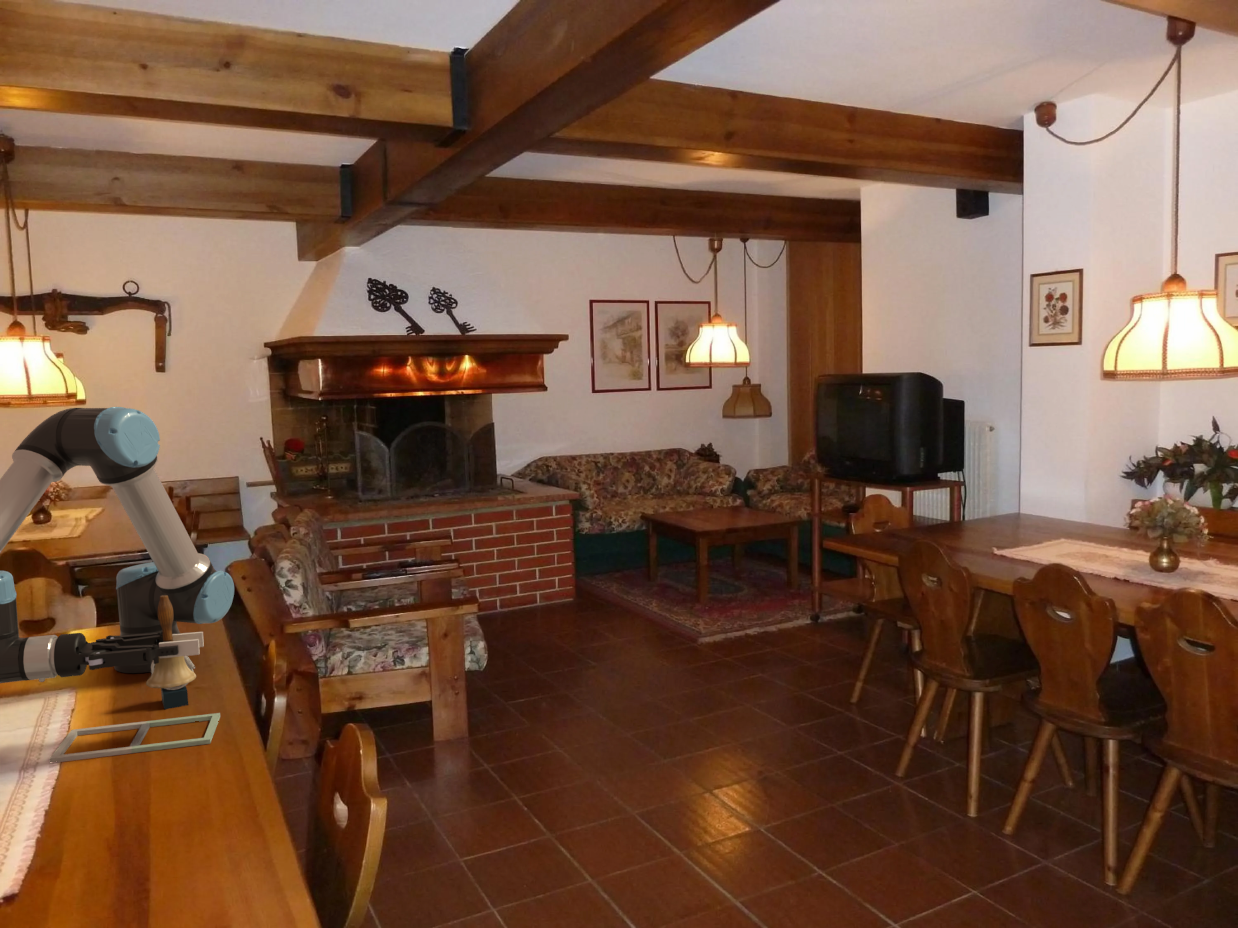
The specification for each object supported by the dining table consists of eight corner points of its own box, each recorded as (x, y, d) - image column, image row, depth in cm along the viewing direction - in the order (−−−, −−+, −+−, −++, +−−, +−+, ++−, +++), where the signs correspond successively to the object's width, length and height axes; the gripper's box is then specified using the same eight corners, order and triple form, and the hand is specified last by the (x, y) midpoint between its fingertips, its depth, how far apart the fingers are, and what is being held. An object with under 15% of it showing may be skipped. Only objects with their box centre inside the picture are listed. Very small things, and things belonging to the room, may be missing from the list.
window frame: (72, 733, 173) (71, 729, 173) (220, 716, 180) (220, 712, 180) (49, 763, 160) (49, 758, 160) (210, 743, 167) (210, 739, 167)
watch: (198, 702, 188) (195, 649, 187) (154, 711, 184) (150, 657, 182) (195, 694, 193) (191, 643, 191) (152, 702, 188) (148, 649, 187)
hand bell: (176, 689, 166) (170, 601, 164) (135, 687, 167) (129, 600, 166) (205, 674, 174) (200, 590, 172) (166, 672, 175) (160, 589, 174)
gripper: (74, 661, 174) (209, 649, 180) (44, 692, 157) (194, 677, 163) (70, 622, 173) (206, 611, 179) (40, 649, 156) (191, 635, 163)
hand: (200, 642), depth 171 cm, fingers closed on hand bell, 4 cm apart
